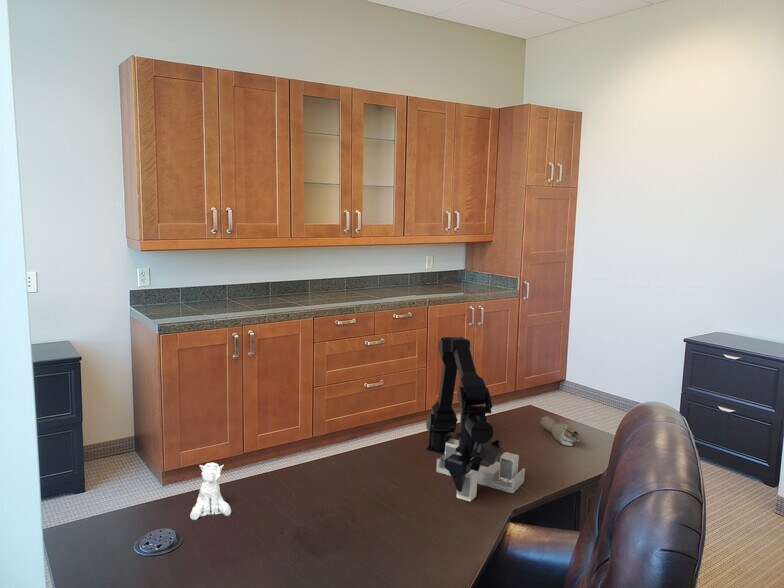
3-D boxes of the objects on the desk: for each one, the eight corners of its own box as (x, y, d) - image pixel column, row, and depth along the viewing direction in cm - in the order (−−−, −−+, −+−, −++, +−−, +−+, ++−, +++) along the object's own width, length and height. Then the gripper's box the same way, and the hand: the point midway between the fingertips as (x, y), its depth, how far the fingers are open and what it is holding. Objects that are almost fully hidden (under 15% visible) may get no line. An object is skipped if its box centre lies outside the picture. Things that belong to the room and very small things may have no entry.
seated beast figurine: (190, 521, 144) (190, 473, 143) (188, 504, 152) (188, 459, 151) (231, 516, 148) (231, 468, 146) (227, 500, 156) (227, 455, 154)
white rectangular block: (455, 498, 163) (457, 473, 162) (462, 492, 167) (464, 467, 166) (469, 502, 161) (471, 477, 160) (476, 496, 165) (477, 471, 164)
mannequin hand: (556, 435, 222) (582, 456, 197) (537, 429, 221) (561, 449, 196) (562, 416, 222) (589, 434, 197) (543, 410, 221) (568, 428, 196)
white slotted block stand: (436, 471, 179) (438, 444, 178) (449, 461, 187) (451, 435, 186) (513, 493, 167) (515, 463, 166) (523, 482, 175) (526, 453, 174)
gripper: (485, 447, 149) (481, 507, 151) (511, 426, 165) (507, 480, 167) (444, 436, 155) (441, 495, 157) (473, 417, 171) (470, 470, 173)
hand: (466, 485), depth 164 cm, fingers open, 9 cm apart
